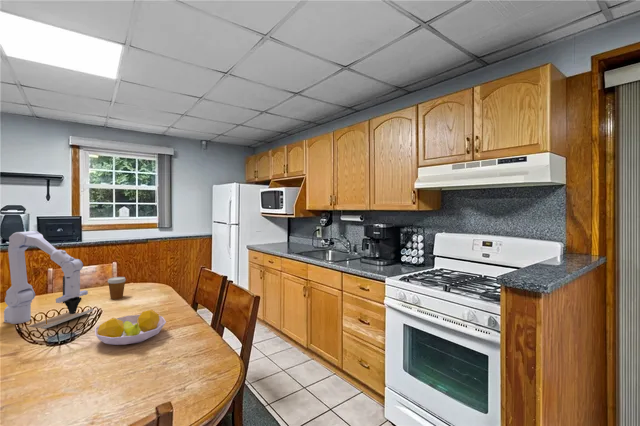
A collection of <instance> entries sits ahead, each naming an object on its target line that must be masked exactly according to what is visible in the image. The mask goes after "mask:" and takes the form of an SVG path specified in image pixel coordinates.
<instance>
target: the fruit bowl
mask: <svg viewBox="0 0 640 426" xmlns="http://www.w3.org/2000/svg"><path fill="white" fill-rule="evenodd" d="M166 323H167V321H166V319H165V318H164V317H163V316H162V315H160V314H158V313H157V312H156V311H155V310H153V309H147V310H144V311H142V312H141V313H140V314H134V315H126V316H121V317H119V318H116V317H112V318H110V319H108V320H106V321H105V322H103V323H101V324H100V325H98V326H96V327H95V328H94V335H95V337H96V338H97V339H98V340H99V341H101V342H102V343H104V344H106V345H114V346H121V345H129V344H131V345H132V344H139V343H142V342H144V341H146V340H148V339H150V338H152V337H154V336H157V335H158V334H159V333H160V332H161V330H162V329H163V327H164V326H165V324H166Z"/></svg>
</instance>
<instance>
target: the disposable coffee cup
mask: <svg viewBox="0 0 640 426" xmlns="http://www.w3.org/2000/svg"><path fill="white" fill-rule="evenodd" d="M126 281H127V278H126V277H125V276H114V277H109V278H108V279H107V284H108V289H109V296H110V297H109V298H110V300H119V299H122V298H123V297H124V292H125V285H126Z"/></svg>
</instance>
